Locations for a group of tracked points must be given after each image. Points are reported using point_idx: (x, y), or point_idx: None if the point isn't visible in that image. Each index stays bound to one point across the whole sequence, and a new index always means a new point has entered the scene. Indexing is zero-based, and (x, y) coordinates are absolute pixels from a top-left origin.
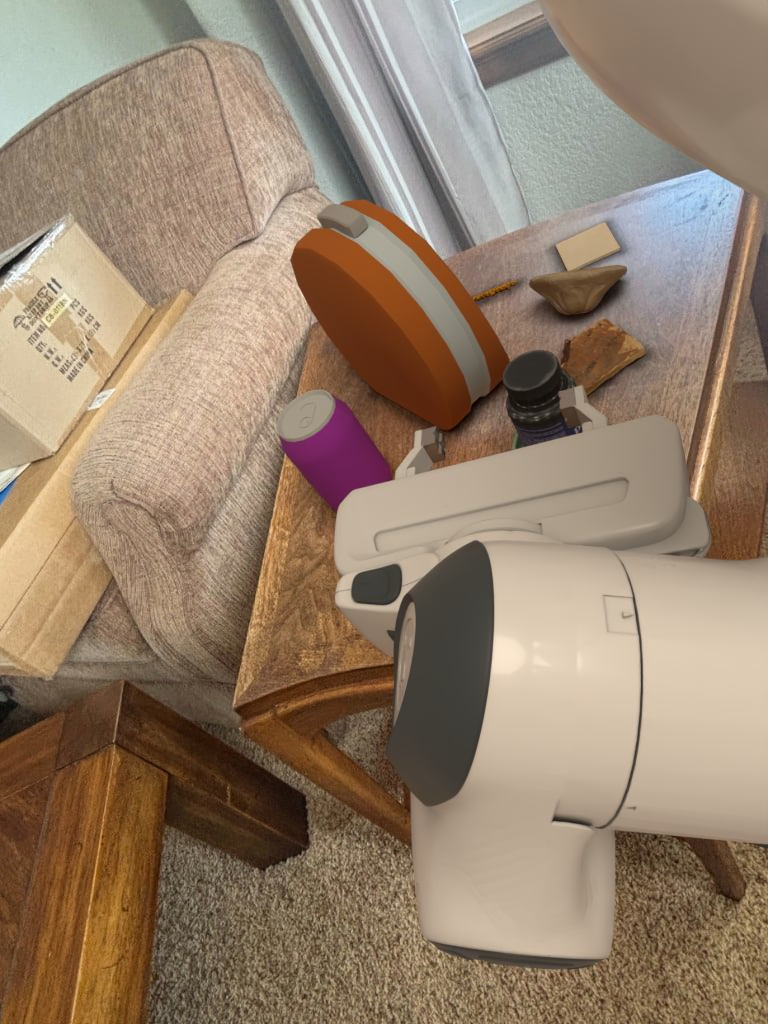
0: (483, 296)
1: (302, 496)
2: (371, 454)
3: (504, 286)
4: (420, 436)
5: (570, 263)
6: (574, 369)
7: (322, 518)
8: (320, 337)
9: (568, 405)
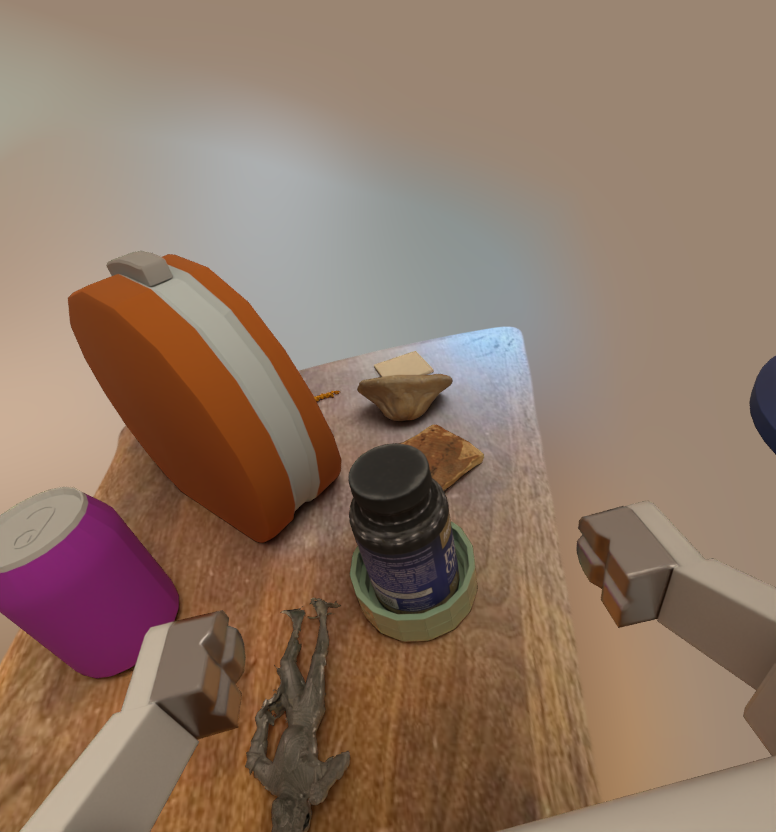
0: None
1: None
2: (145, 584)
3: (328, 394)
4: (157, 655)
5: None
6: None
7: (58, 682)
8: None
9: (652, 566)
